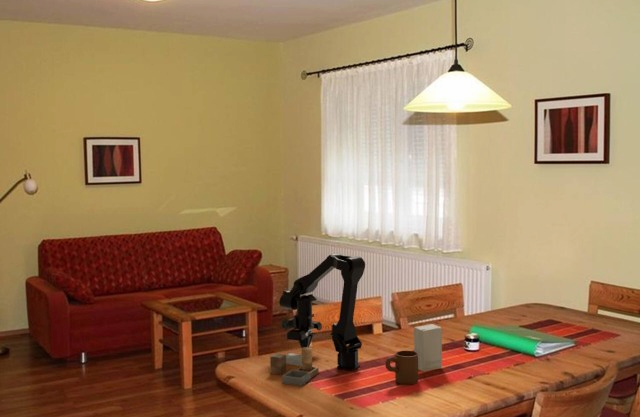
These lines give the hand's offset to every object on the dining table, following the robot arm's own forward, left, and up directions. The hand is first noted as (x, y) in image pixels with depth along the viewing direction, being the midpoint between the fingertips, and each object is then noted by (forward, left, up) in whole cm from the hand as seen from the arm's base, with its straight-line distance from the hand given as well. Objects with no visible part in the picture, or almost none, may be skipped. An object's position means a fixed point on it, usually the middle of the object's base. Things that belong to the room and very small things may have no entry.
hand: (304, 353), depth 256 cm
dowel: (-10, +19, -1) cm, 21 cm away
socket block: (-10, +19, -1) cm, 21 cm away
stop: (0, +21, -1) cm, 21 cm away
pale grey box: (0, +8, -2) cm, 8 cm away
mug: (-42, +14, -1) cm, 44 cm away
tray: (-10, +27, -1) cm, 29 cm away
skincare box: (-46, -4, -1) cm, 46 cm away
